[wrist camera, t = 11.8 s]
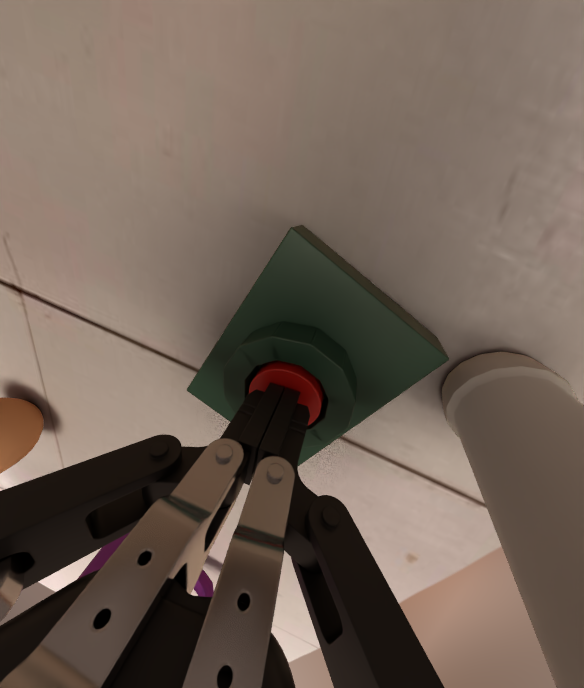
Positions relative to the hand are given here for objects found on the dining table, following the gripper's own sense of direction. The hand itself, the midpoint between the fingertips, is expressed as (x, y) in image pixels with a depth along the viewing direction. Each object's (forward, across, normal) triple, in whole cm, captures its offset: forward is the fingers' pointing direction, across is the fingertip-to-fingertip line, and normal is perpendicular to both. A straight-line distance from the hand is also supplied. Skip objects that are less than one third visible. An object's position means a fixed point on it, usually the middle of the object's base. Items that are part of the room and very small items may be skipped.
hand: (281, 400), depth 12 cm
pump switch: (+4, 0, 0) cm, 4 cm away
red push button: (+2, 0, 0) cm, 2 cm away
